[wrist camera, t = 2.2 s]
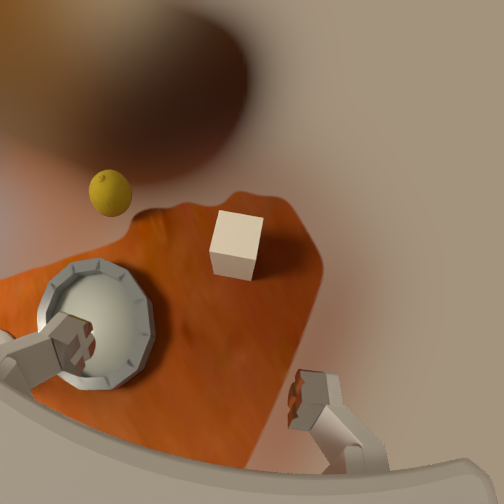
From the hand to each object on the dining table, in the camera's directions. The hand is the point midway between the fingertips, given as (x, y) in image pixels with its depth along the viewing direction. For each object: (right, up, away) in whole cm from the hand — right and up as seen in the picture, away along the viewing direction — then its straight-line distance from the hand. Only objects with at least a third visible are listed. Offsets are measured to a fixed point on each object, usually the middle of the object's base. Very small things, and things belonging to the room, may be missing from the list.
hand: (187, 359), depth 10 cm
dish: (-17, -5, +23) cm, 29 cm away
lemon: (-16, +10, +29) cm, 34 cm away
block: (0, +3, +27) cm, 27 cm away
